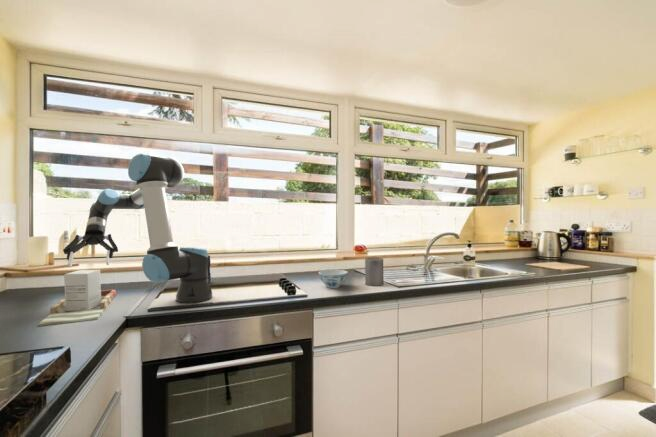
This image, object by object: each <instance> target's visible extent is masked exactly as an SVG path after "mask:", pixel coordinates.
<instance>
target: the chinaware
mask: <svg viewBox="0 0 656 437" xmlns="http://www.w3.org/2000/svg"><path fill="white" fill-rule="evenodd" d="M348 273H349V271H347V270H344V269H337V268H336V269H335V268H334V269H331V268H329V269H323V270H322V269H321V270H320V271H318V276H319V279H320V281H321V282H322V283H323V284H324V285H325V286H326V288H328V289H338V288H340V287H341V285H342V284H343V283H344V282H346V280H347V277H348Z"/></svg>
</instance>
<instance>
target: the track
mask: <svg viewBox="0 0 656 437" xmlns="http://www.w3.org/2000/svg"><path fill="white" fill-rule="evenodd" d="M115 295H116V296H117V288H115V289H114V288H113V289H103V290H102V289H101V303H100V305H99V308H95V309H94V308H92V309H90V310H84V311H65V312H62V311H64V310H65V297H63V298H62V299H61V300H60V301H58V302H56V304H54V305H53V306H52V307H50V314H49V315H48V316H46V317H45V318H44V319H42V320H41V321H40V322H39V323H38V327H44V326H51V325H59V324H60V325H61V324H69V323H77V322H85V321H94V320H95V321H96V320H98V319H100V318H101V316H102V314H103V313H104V312H105V310H106V309H107V308H108V306H109V305H110V304H111V302H112V301H113V299H115Z"/></svg>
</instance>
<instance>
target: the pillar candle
mask: <svg viewBox="0 0 656 437" xmlns="http://www.w3.org/2000/svg"><path fill="white" fill-rule="evenodd" d="M364 260H365V262H364V264H365V265H364V267H365V268H364V271H365V273H364V274H365V279H364V281H365V284H364V285H366V286H368V287H369V286H370V287H378V286H379V287H381V286H383V285H384V282H385V281H384V280H385V279H384V258H382V257H375V256H374V257H373V256H372V257H366V258H365V259H364Z"/></svg>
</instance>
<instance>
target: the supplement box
mask: <svg viewBox="0 0 656 437" xmlns="http://www.w3.org/2000/svg"><path fill="white" fill-rule="evenodd" d="M63 275H64V276H63V279H64V280H63V281H64V298H65V308H64V311H65V312H75V311H84V310H93V309H94V308H97V307H98V306H100V303H101V290H102V288H101V287H102V286H101V283H102V282H101V281H102V280H101V269H80V270H79V269H78V270H75V271H71V272H67V273H65V274H63Z"/></svg>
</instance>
